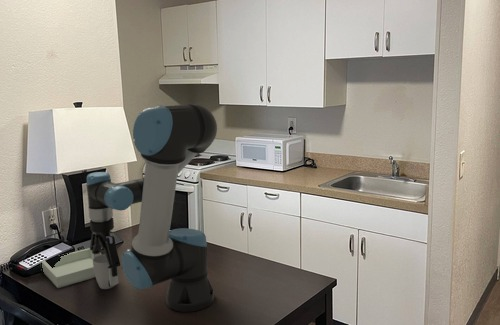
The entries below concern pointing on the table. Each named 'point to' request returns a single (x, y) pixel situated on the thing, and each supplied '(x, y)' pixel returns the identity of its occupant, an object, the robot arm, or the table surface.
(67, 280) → the bin
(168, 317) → the table surface
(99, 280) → the cup
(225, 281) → the table surface
